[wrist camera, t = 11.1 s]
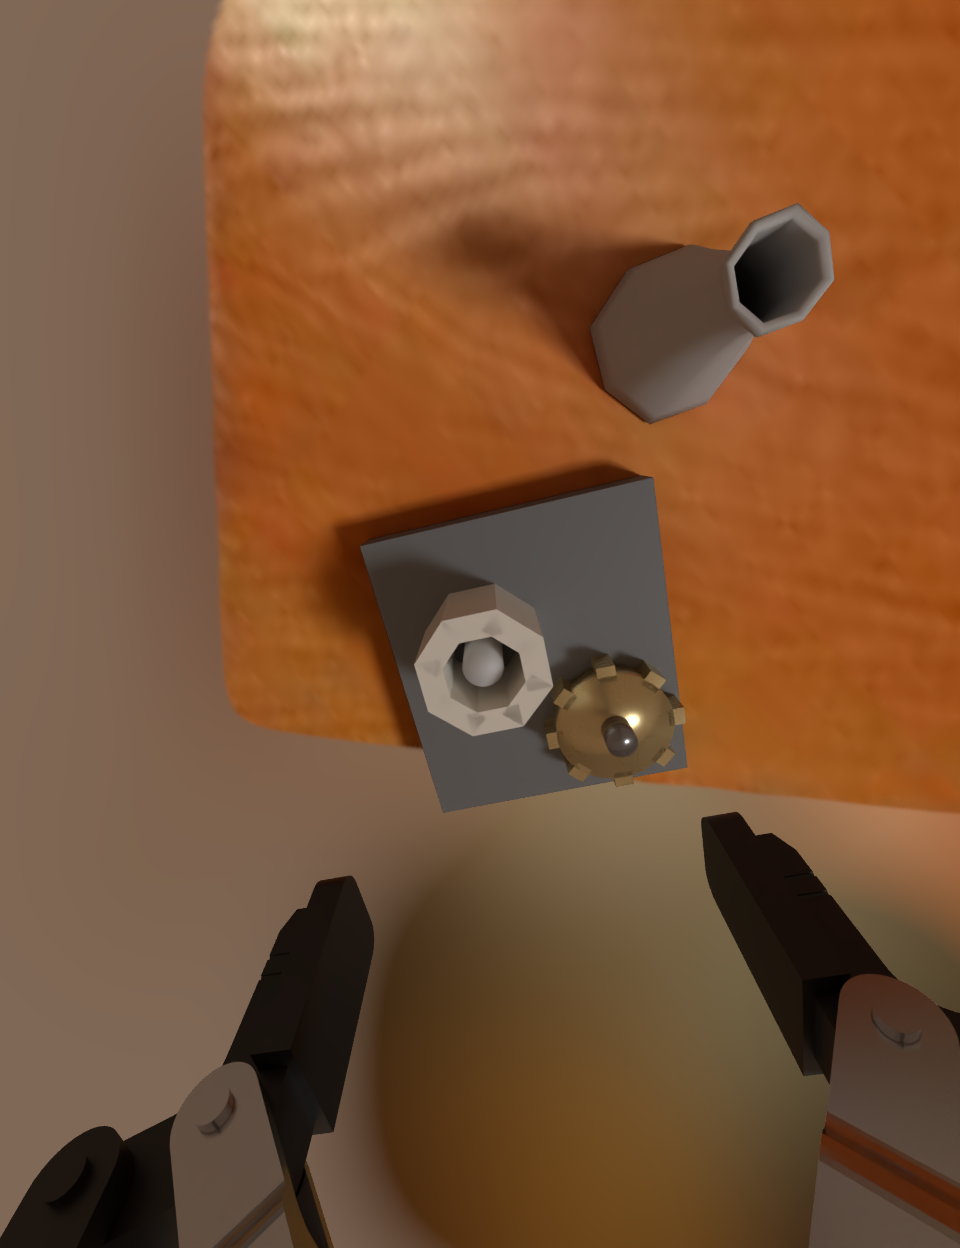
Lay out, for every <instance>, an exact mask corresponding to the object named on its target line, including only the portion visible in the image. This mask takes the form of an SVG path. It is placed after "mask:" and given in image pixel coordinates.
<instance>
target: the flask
mask: <svg viewBox="0 0 960 1248" xmlns="http://www.w3.org/2000/svg"><path fill="white" fill-rule="evenodd" d="M833 281H834V272H833V263H832V253H831V244H830V235H829V231H828V230H827V229H825V228H824V227H823V226H822V225H821V224H820V223H819V222H818V221H817V220H816V219H815V218H814V217H813V216H812V215H810V214H809V213H808V212H807V211H806V210H805V209H804V208H803V207H802V206H801V205H800V204H799V203H797V204H794V205H792V206H789V207H787V208H784V209H782V210H779V211H777V212H774V213H772V214H769V215H767V216H764V217H762V218H759V219H757V220H754V221H753V222H751V223H750V224H749V225H748V227H747V228H746V230H745V231H744V232H743V234H742V235H741V237H740V238H739V240H738V241H737V242H736V244H735V245H734V247H733V248H732V250H731V251H729V250H716V249H709V248H705V247H701V246H697V245H687V246H685V247H682V248H680V249H677V250H675V251H672V252H670V253H667V254H665V255H662V256H660V257H657V258H655V259H652V260H650V261H647V262H645V263H642V264H640V265H637V266H635V267H632V268H630V269H628V270H627V271H626V273H625V274H624V276H623V277H622V279H621V281H620V282H619V284H618V285H617V287H616V288H615V290H614V291H613V293H612V294H611V296H610V297H609V299H608V301H607V302H606V304H605V305H604V307H603V308H602V310H601V311H600V313H599V314H598V316H597V317H596V319H595V320H594V322H593V324H592V325H591V327H590V331H591V335H592V339H593V343H594V347H595V351H596V355H597V360H598V364H599V368H600V372H601V376H602V380H603V384H604V388H605V390H606V391H607V392H608V393H610V394H611V395H612V396H614V397H615V398H616V399H618V400H619V401H620V402H621V403H623V404H624V405H625V406H627V407H628V408H629V409H630V410H632V411H633V412H634V413H636V414H637V415H638V416H640V417H641V418H642V419H643V420H645V421H646V422H647V423H649V424H652V423H655V422H657V421H660V420H663V419H666V418H668V417H671V416H674V415H677V414H679V413H682V412H685V411H688V410H690V409H693V408H696V407H699V406H702V405H704V404H706V403H707V402H708V401H709V399H710V398H711V397H712V395H713V394H714V393H715V391H716V390H717V389H718V387H719V386H720V385H721V383H722V382H723V381H724V379H725V378H726V377H727V375H728V374H729V373H730V371H731V370H732V369H733V367H734V366H735V365H736V363H737V362H738V361H739V359H740V358H741V357H742V355H743V354H744V353H745V351H746V350H747V349H748V347H749V345H750V343H751V341H752V339H753V337H760V336H762V335H765V334H768V333H770V332H773V331H776V330H779V329H781V328H784V327H787V326H789V325H792V324H795V323H797V322H800V321H802V320H803V319H804V318H805V317H806V316H807V314H808V313H809V312H810V310H811V309H812V308H813V306H814V305H815V304H816V303H817V301H818V300H819V299H820V297H821V296H822V295H823V294H824V292H825V291H826V290H827V288H828V287H829V286H830V284H831V283H832V282H833Z"/></svg>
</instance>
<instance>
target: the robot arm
mask: <svg viewBox="0 0 960 1248" xmlns="http://www.w3.org/2000/svg"><path fill="white" fill-rule="evenodd" d="M701 827H702V838H703V848H704V859H705V869H706V875H707V879H708V883H709V886H710V889H711V892H712V895H713V897H714V899H715V901H716V903H717V905H718V908H719V909H720V911H721V914H722V916H723V917H724V919H725V921H726V923H727V925H728V927H729V929H730V931H731V933H732V935H733V937H734V939H735V941H736V943H737V945H738V947H739V949H740V951H741V953H742V955H743V957H744V959H745V961H746V963H747V965H748V967H749V969H750V971H751V973H752V975H753V977H754V979H755V981H756V983H757V985H758V987H759V989H760V991H761V993H762V995H763V997H764V998H765V1000H766V1003H767V1005H768V1007H769V1008H770V1010H771V1012H772V1014H773V1016H774V1018H775V1020H776V1022H777V1024H778V1026H779V1028H780V1030H781V1032H782V1034H783V1036H784V1038H785V1040H786V1042H787V1044H788V1046H789V1048H790V1050H791V1052H792V1054H793V1056H794V1058H795V1060H796V1062H797V1064H798V1066H799V1068H800V1070H801V1072H802V1074H803V1076H808V1075H816V1074H824V1076H825V1077H826V1079H827V1081H828V1083H829V1085H830V1087H829V1097H828V1106H827V1115H826V1122H825V1128H824V1129H823V1132H822V1138H821V1145H820V1153H819V1161H818V1171H817V1180H816V1189H815V1197H814V1207H813V1215H812V1224H811V1233H810V1242H809V1248H960V1013H957V1012H954V1011H951V1010H948V1009H945V1008H942V1007H940V1006H938V1005H936V1004H935V1003H934V1002H933V1001H931V999H929V998H928V997H927V996H926V995H924V994H923V993H921V992H920V991H919V990H917V989H916V988H914V987H912V986H910V985H908V984H907V983H904V982H902V981H900V980H898V979H897V978H896V977H895V976H894V975H893V974H892V973H891V972H890V971H889V970H888V969H887V967H886V966H885V965H884V964H883V962H882V961H881V960H880V959H879V957H878V956H877V955H876V953H875V952H874V951H873V949H872V948H871V947H870V946H869V944H868V943H867V942H866V940H865V939H864V938H863V936H862V935H861V934H860V932H859V931H858V930H857V929H856V927H855V926H854V925H853V923H852V922H851V921H850V920H849V918H848V917H847V916H846V914H845V913H844V912H843V910H842V909H841V908H840V907H839V905H838V904H837V903H836V901H835V900H834V899H833V897H832V896H831V895H829V894H828V893H827V890H826V888H825V887H824V886H823V884H822V883H821V882H820V881H819V879H818V878H817V877H816V876H814V874H813V871H812V870H811V869H810V868H809V866H808V865H807V864H806V862H805V861H804V860H803V858H802V857H801V856H800V855H799V853H798V852H797V851H796V850H795V849H794V848H793V847H791V846H790V845H788V844H787V843H785V842H784V841H782V840H781V839H780V838H778V837H777V836H775V835H773V834H772V833H769V834H762V835H757V836H755V834H754V833H753V832H752V830H751V829H750V827H749V826H748V824H747V823H746V821H745V820H744V818H743V817H742V816H741V815H740V814H739V813H738V812H732V813H726V814H720V815H715V816H709V817H703V818H702V820H701ZM373 950H374V931H373V925H372V922H371V919H370V916H369V914H368V911H367V909H366V906H365V904H364V901H363V898H362V896H361V893H360V891H359V888H358V886H357V883H356V881H355V879H354V878H353V877H352V876H344V877H339V878H333V879H327V880H321V881H319V882H318V883H317V884H316V885H315V888H314V890H313V893H312V895H311V898H310V900H309V903H308V906H307V908H303V909H297V910H296V912H295V913H294V914H293V915H292V916H291V918H290V919H289V920H288V922H287V923H286V924H285V925H284V927H283V928H282V929H281V930H280V932H279V934H278V937H277V939H276V942H275V944H274V946H273V949H272V951H271V953H270V959H269V960H267V963H266V965H265V968H264V970H263V972H262V975H261V976H262V977H261V980H259V982H258V984H257V986H256V989H255V991H254V993H253V996H252V998H251V1001H250V1003H249V1005H248V1008H247V1010H246V1012H245V1015H244V1017H243V1019H242V1022H241V1024H240V1026H239V1029H238V1031H237V1033H236V1036H235V1038H234V1041H233V1043H232V1045H231V1048H230V1050H229V1052H228V1055H227V1057H226V1059H225V1061H224V1063H223V1065H222V1066H221V1067H220V1068H218V1069H216V1070H214V1071H213V1072H212V1073H210V1074H209V1075H208V1076H206V1077H205V1078H204V1079H203V1080H202V1081H201V1082H200V1083H199V1084H198V1085H197V1086H196V1087H195V1088H194V1089H193V1090H192V1092H191V1093H190V1094H189V1096H188V1097H187V1098H186V1100H185V1101H184V1103H183V1104H182V1106H181V1108H180V1110H179V1112H178V1113H177V1114H175V1115H174V1116H172V1117H170V1118H168V1119H166V1120H164V1121H162V1122H160V1123H158V1124H156V1125H154V1126H152V1127H150V1128H148V1129H146V1130H144V1131H142V1132H140V1133H138V1134H137V1135H134V1136H132V1137H131V1138H129V1139H127V1140H125V1141H123V1140H122V1138H121V1137H120V1136H119V1134H118V1133H117V1132H116V1130H115V1129H113V1128H111V1127H108V1126H100V1127H96V1128H93V1129H90V1130H88V1131H86V1132H84V1133H82V1134H81V1135H79V1136H77V1137H76V1138H74V1139H73V1140H72V1141H70V1142H69V1143H68V1144H67V1145H65V1146H64V1147H63V1148H62V1149H61V1150H60V1151H59V1152H58V1153H57V1154H56V1155H55V1156H54V1157H53V1158H52V1159H51V1160H50V1161H49V1162H48V1163H47V1164H46V1166H45V1167H44V1168H43V1169H42V1170H41V1172H40V1173H39V1175H38V1176H37V1177H36V1179H35V1180H34V1181H33V1183H32V1185H31V1186H30V1188H29V1189H28V1191H27V1193H26V1194H25V1196H24V1198H23V1200H22V1202H21V1203H20V1205H19V1206H18V1208H17V1210H16V1212H15V1213H14V1215H13V1217H12V1219H11V1220H10V1222H9V1224H8V1226H7V1227H6V1229H5V1231H4V1232H3V1234H2V1236H1V1238H0V1248H334V1247H333V1244H332V1240H331V1237H330V1234H329V1231H328V1228H327V1224H326V1221H325V1218H324V1214H323V1211H322V1208H321V1205H320V1201H319V1198H318V1195H317V1192H316V1189H315V1186H314V1182H313V1179H312V1176H311V1173H310V1169H309V1166H308V1164H307V1162H306V1157H307V1153H308V1149H309V1145H310V1141H311V1137H312V1135H315V1134H323V1133H330V1132H333V1131H334V1127H335V1123H336V1118H337V1114H338V1109H339V1104H340V1100H341V1096H342V1091H343V1087H344V1082H345V1078H346V1072H347V1068H348V1064H349V1059H350V1055H351V1050H352V1046H353V1041H354V1037H355V1032H356V1028H357V1023H358V1019H359V1014H360V1010H361V1005H362V1001H363V996H364V992H365V987H366V983H367V978H368V973H369V969H370V965H371V960H372V955H373Z"/></svg>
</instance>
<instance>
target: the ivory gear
mask: <svg viewBox="0 0 960 1248" xmlns="http://www.w3.org/2000/svg"><path fill="white" fill-rule="evenodd" d="M487 637H493V638H495V639H496V640H498V641H500V642H501V643H503V644H505V645H507V646H508V647H510V648H512V649H513V650H515V651H516V652H515V654H514V655H513V656H512V658H511V659H510V661H509V662H508V664H507V665H506V666H505V667H504V672H503V675H502V677H501V678H500V679H499V680H498V681H497V682H496V683H495V684H493V685H490V686H486V687H481V686H476V685H474V684H472V683H470V682H469V681H468V680H467V679H466V678H465V676H464V674H463V670H462V665H463V664H462V663H461V662H459V661H457V660H456V659H455V655H454V650H455V649H456V647H457V646H458V644H459V643H463V642H468V641H473V640H478V639H482V638H487ZM414 666H415V669H416V673H417V676H418V679H419V683H420V686H421V689H422V693H423V696H424V699H425V703H426V706H427V709H428V712H430V713H431V714H433V715H435V716H437V717H439V718H440V719H442V720H444V721H446V722H448V723H450V724H451V725H453V726H455V727H457V728H459V729H461V730H462V731H464V732H466V733H468V734H470V735H471V736H477V735H482V734H487V733H492V732H497V731H502V730H507V729H513V728H518V727H523V726H524V725H525V724H526V722H527V721H528V720H529V718H530V717H531V716H532V714H533V713H534V712H535V710H536V709H537V708H538V706H539V705H540V704H541V702H542V701H543V700H544V698H545V697H546V696H547V694H548V693H549V692H550V690H551V689H552V688H553V683H552V678H551V673H550V668H549V663H548V658H547V653H546V648H545V643H544V638H543V634H542V631H541V628H540V625H539V621H538V618H537V615H536V612H535V608H534V607H532V606H531V605H529V604H527V603H526V602H524V601H522V600H521V599H519V598H518V597H516V596H514V595H513V594H511V593H509V592H508V591H506V590H504V589H503V588H501V587H500V586H498V585H496V584H491V585H486V586H482V587H477V588H473V589H468V590H464V591H459V592H454V593H450V594H448V596H447V597H446V599H445V601H444V602H443V604H442V605H441V607H440V609H439V610H438V612H437V613H436V615H435V617H434V618H433V620H432V621H431V623H430V625H429V626H428V628H427V629H426V631H425V634H424V637H423V640H422V643H421V645H420V648H419V651H418V654H417V657H416V660H415V663H414Z"/></svg>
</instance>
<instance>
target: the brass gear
mask: <svg viewBox="0 0 960 1248" xmlns="http://www.w3.org/2000/svg"><path fill="white" fill-rule="evenodd" d="M590 660H591V666H592V668H590V669H587V670H585V671H583V672H581V673H579V674H578V675H577V676H575V677H574V678H573V679H571V680H570V681H567V680H565V679H564V678H562V677H560V678H559V679H558V680H557V682H556V683H555V684H554V686H553V688H552V689H551V690H550V692H551V696H552V699H553V703H554V704H555V706H554V712H553V718H552V719H547V720H543V722H544V727H545V732H546V737H547V741H548V746H549V750H550V749H555V748H560V749H561V751H562V753H563V754H564V756H565V758H564V759H565V763H566V767H567V771H568V774H569V775H571V776H573V777H575V778H576V779H578V780H580V781H582V782H583V781H584V780H585V779H586V777H587V776H588V775H592V776H595V777H600V778H613V780H614V783H615V785H616V787H618V786H624V785H629V784H634V782H633V776H632V775H634V774H637V773H639V772H641V771H643V770H645V769H647V768H648V767H650V766H651V765H653V764H654V763H655V762H657V763H658V764H660V765H662V766H665V765H666V764H667V763H668V762H669V761H670V760H671V758H672V757H673V756H674V755H675V752H674V751H673V749H672V747H671V746H670V743H671V740H672V738H673V734H674V729H675V725H680V724H685V723H686V720H685V711H684V706H683V705H682V704H681V703H680V701H679V700H678V699H677V697H676V696H675V695H674V694H673V695H668V696H666V695H665V694H664V693H663V691H662V690H661V689H660V687H661V686H662V685H663V684H664V682H665V681H666V679H665V678H664V677H663V675H662V674H661V673H660V672H659V670H658V669H657V668H655V667H654V666H652V665H651V664H649V663H647V662H646V661H644V660H642V661H641V663H640V664H639V665H638V666H637V668H635V667H632V666H628V665H624V664H614V663H613V661H612V660H611V658H610V656H609V655H608V654H607V655H602V656H597V657H592V658H590Z"/></svg>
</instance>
